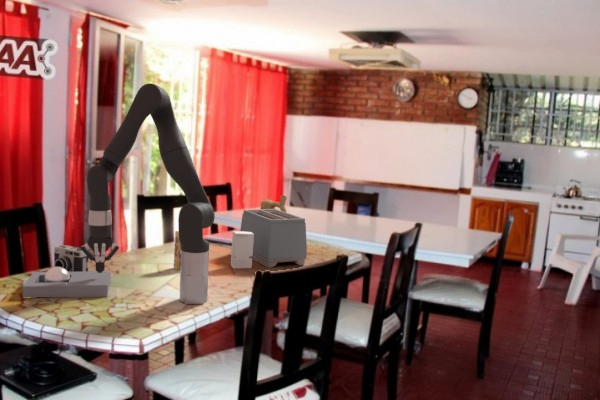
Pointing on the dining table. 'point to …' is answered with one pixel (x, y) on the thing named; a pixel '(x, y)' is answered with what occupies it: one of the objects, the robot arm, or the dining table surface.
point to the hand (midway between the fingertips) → (100, 272)
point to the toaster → (276, 236)
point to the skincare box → (242, 249)
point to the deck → (69, 285)
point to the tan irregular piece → (274, 204)
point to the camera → (70, 258)
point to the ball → (57, 275)
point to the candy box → (177, 252)
